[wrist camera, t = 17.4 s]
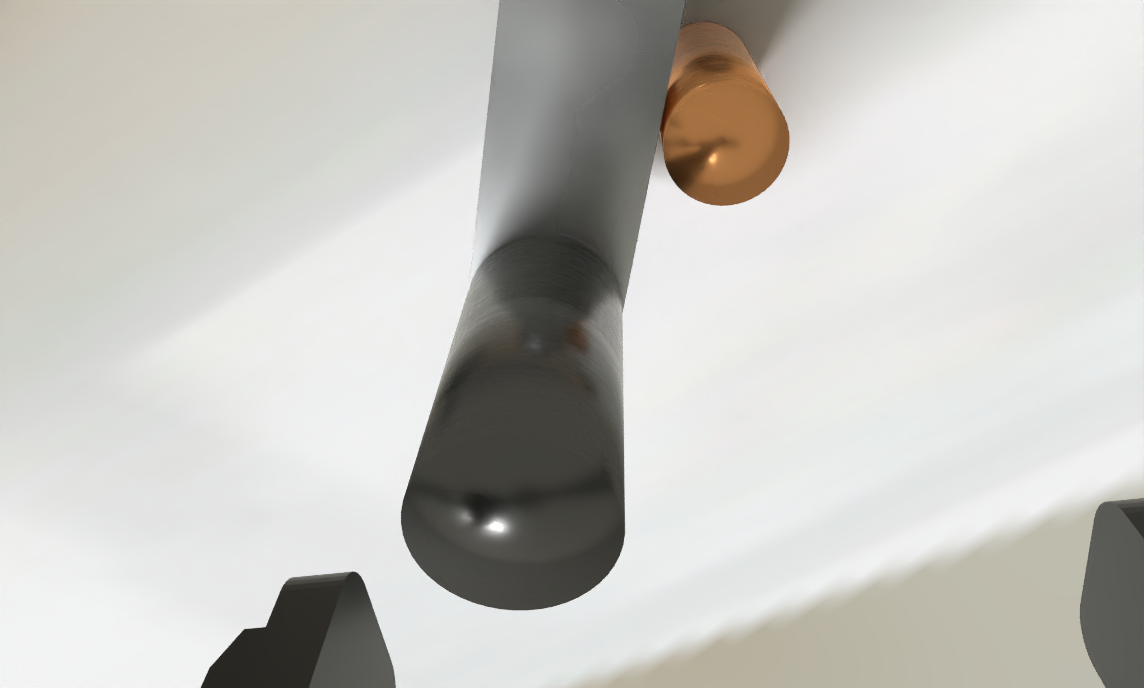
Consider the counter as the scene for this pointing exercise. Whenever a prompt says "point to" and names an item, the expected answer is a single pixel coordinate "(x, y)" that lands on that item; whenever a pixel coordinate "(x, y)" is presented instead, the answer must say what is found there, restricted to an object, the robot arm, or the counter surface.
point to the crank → (545, 310)
